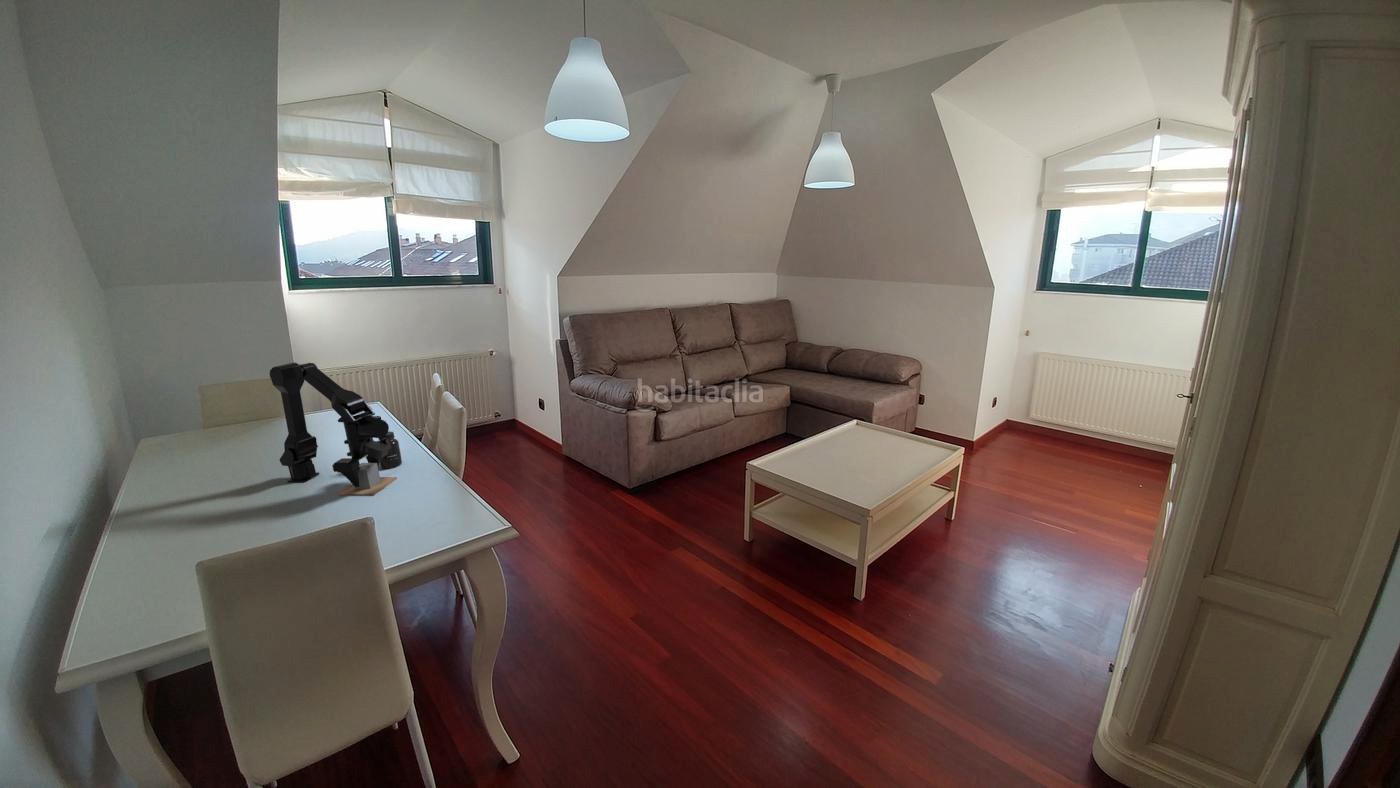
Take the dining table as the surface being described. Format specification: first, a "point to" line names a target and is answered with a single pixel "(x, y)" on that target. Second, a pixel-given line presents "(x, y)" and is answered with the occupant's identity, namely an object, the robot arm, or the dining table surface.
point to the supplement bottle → (391, 453)
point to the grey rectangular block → (368, 475)
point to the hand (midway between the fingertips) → (366, 480)
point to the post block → (374, 490)
